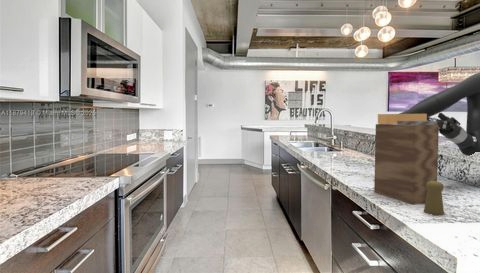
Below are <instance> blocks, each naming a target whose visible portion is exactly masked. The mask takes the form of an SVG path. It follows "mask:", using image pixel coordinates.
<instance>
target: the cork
mask: <svg viewBox="0 0 480 273" xmlns="http://www.w3.org/2000/svg"><path fill="white" fill-rule="evenodd" d="M426 188H427V190H428V191H427V197H426V202H425V203H424V209H423V213H425V214H427V213H428V215H430V214H432V215H431V216H439V215H440V216H444V215H445V211H444V210H445V209H444V201H443V193H442V192H443V191H444V189H445V186H444V184H443V183H442V182H441V181H438V180H437V181H429V182H427V183H426Z"/></svg>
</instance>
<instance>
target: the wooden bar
mask: <svg viewBox="0 0 480 273" xmlns="http://www.w3.org/2000/svg"><path fill="white" fill-rule="evenodd" d="M397 121H427V114H399V113H381V114H380V113H378V114H377V124H397Z"/></svg>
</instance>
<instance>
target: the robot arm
mask: <svg viewBox="0 0 480 273" xmlns="http://www.w3.org/2000/svg"><path fill="white" fill-rule="evenodd" d="M464 98H466V108H467V109H466V125H465V127H466V129H464V128H463V127H462V126H461V123H460V121H458V120H457V119H456V118H455V117H452V116H451V117H449V116H446V115H445V114H444V113H442V112H444V111H445V110H447V109H449V108H450V107H452V106H454V105H455V104H457V103H458V102H460V101H461V100H463V99H464ZM398 114H427V121H437V125H439V134H441V136H443V137H444V138H445V139H446V140H448V141H450V142H451V143H453V144H454V145H456V147H458V149H459V151H460V152H461V154H463V155H464V156H467V157H471V156H470V155H472V154H474V153H475V152H480V72H478V73H473V74H472V75H470V76H469V77H467V78H466V79H464V80H462V81H460V82H459V83H457V84H456V85H453V86H451V87H449V88H446V89H444V90H441V91H439V92H437V93H435V94H432V95H430V96H429V97H425V98H424V99H422V100H420V101H419V102H418V103H416V104H414V105H413V106H411V107H410V108H409V109H407V110H404V111H402V112H400V113H398ZM435 115H437V117H433V116H435ZM474 138H475V141H474Z"/></svg>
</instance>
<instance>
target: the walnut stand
mask: <svg viewBox="0 0 480 273" xmlns="http://www.w3.org/2000/svg"><path fill="white" fill-rule="evenodd" d="M439 134H440V132H439V125H437V121H436V120H434V121H397V124H378V123H376V124H375V135H374V136H375V137H374V138H375V139H374V140H375V141H374V142H375V144H374V147H375V148H374V186H373V187H374V190H373V193H376V194H379V195H382V196H385V197H388V198H391V199H395V200H398V201H400V202H403V203H406V204H409V205H419V204H425V202H426V197H427V191H428V190H427V188H426V183H427V182H429V181H438V162H439V138H440V137H439V136H440V135H439Z"/></svg>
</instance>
